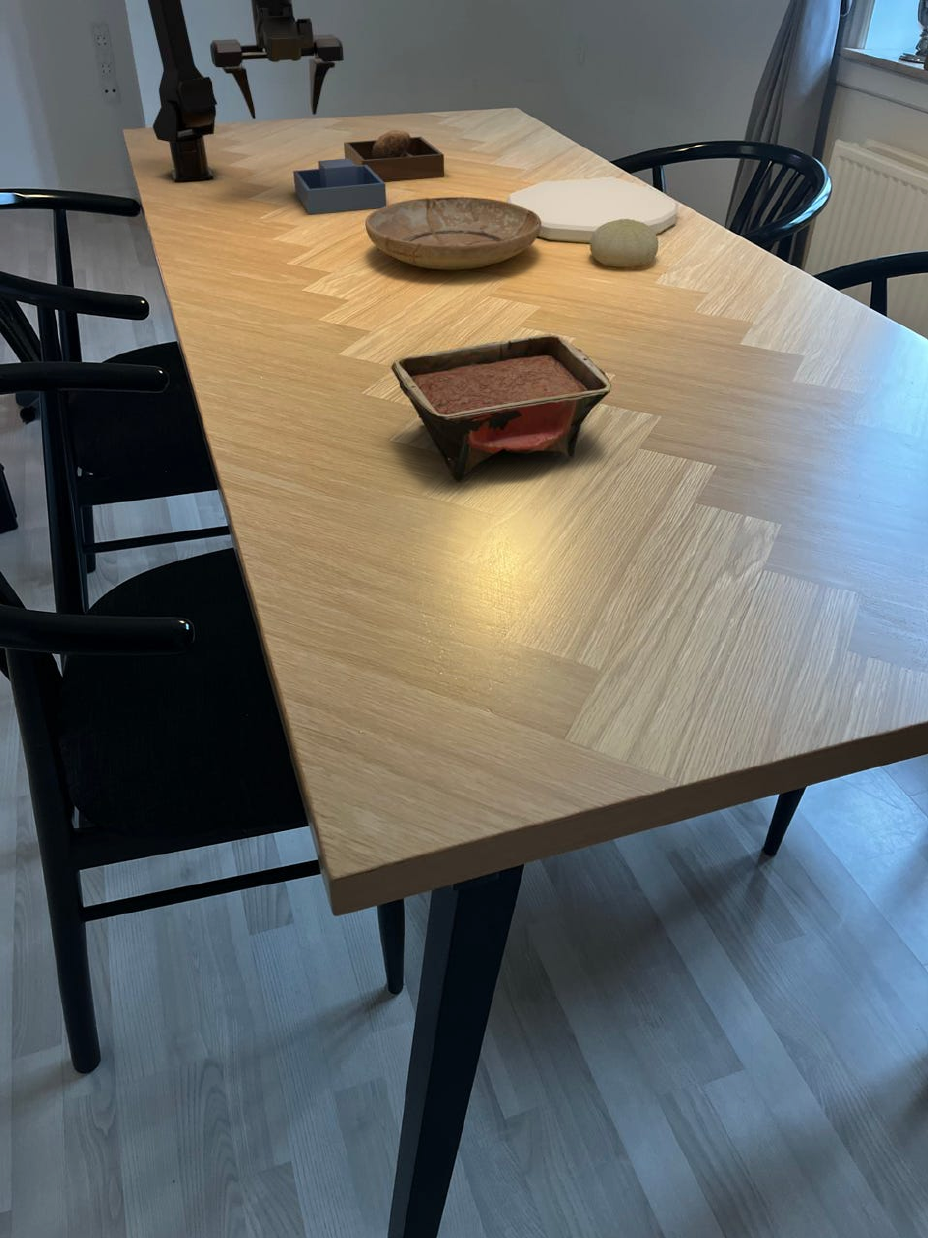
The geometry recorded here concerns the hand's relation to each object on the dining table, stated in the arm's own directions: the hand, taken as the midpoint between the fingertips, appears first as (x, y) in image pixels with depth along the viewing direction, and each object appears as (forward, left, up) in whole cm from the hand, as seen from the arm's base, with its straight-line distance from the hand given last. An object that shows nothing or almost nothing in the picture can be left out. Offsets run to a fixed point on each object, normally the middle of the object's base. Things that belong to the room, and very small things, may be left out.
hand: (284, 116), depth 144 cm
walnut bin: (-13, +20, -12) cm, 27 cm away
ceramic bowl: (+35, +16, -12) cm, 40 cm away
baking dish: (+87, +4, -12) cm, 88 cm away
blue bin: (+3, +7, -12) cm, 14 cm away
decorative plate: (+25, +41, -12) cm, 50 cm away
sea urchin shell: (+44, +37, -12) cm, 59 cm away
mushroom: (-13, +20, -12) cm, 26 cm away
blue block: (+3, +7, -12) cm, 14 cm away
